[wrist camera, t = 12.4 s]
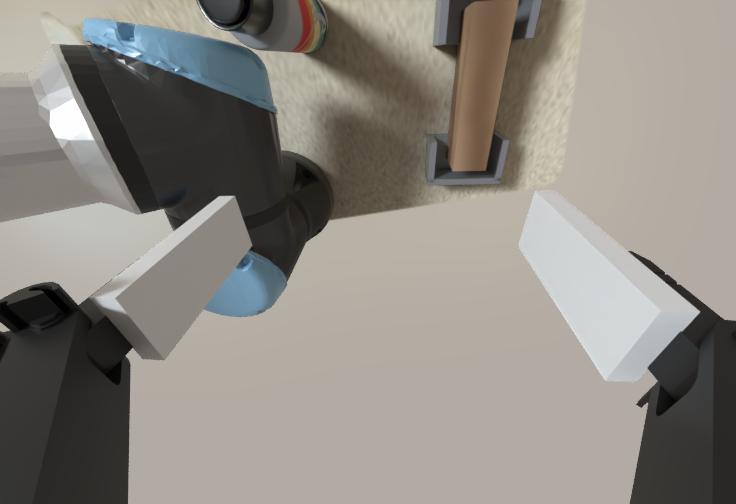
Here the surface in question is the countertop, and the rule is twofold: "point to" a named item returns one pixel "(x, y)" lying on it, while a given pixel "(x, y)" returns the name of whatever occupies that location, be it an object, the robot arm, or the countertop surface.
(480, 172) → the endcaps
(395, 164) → the countertop surface
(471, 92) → the slat
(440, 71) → the countertop surface
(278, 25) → the lotion bottle
